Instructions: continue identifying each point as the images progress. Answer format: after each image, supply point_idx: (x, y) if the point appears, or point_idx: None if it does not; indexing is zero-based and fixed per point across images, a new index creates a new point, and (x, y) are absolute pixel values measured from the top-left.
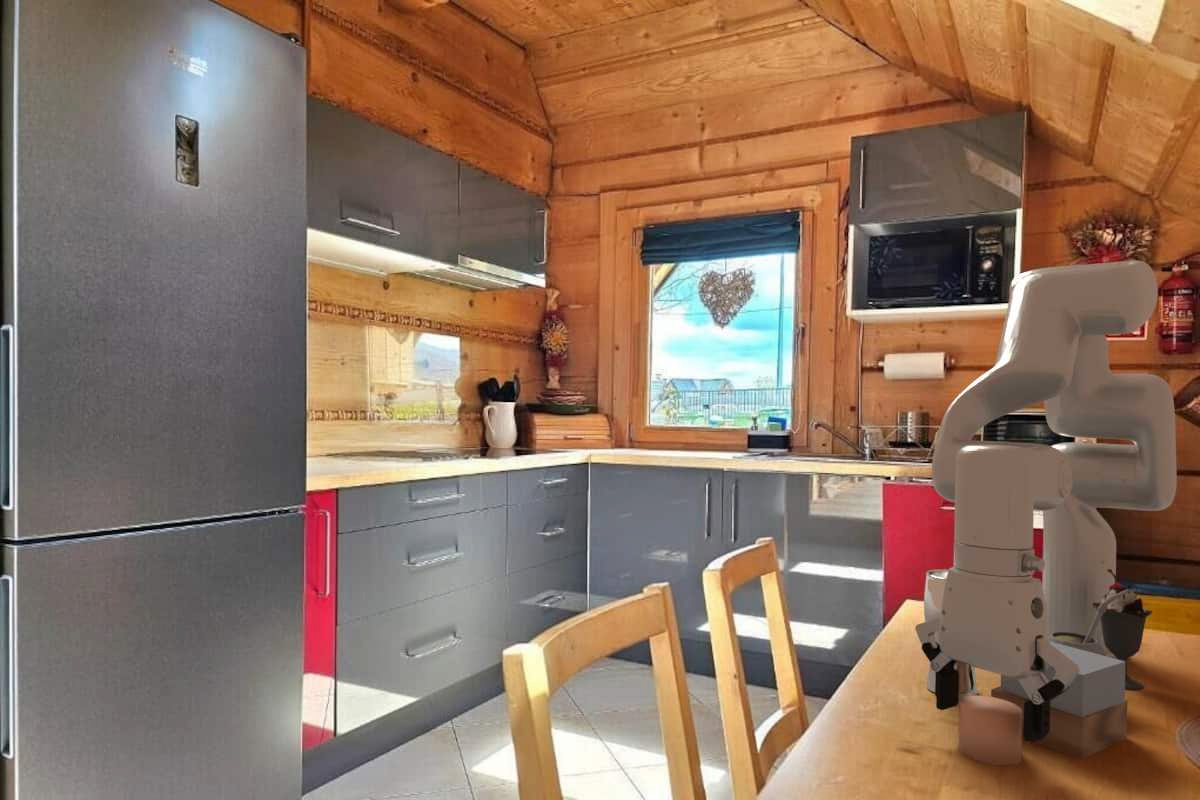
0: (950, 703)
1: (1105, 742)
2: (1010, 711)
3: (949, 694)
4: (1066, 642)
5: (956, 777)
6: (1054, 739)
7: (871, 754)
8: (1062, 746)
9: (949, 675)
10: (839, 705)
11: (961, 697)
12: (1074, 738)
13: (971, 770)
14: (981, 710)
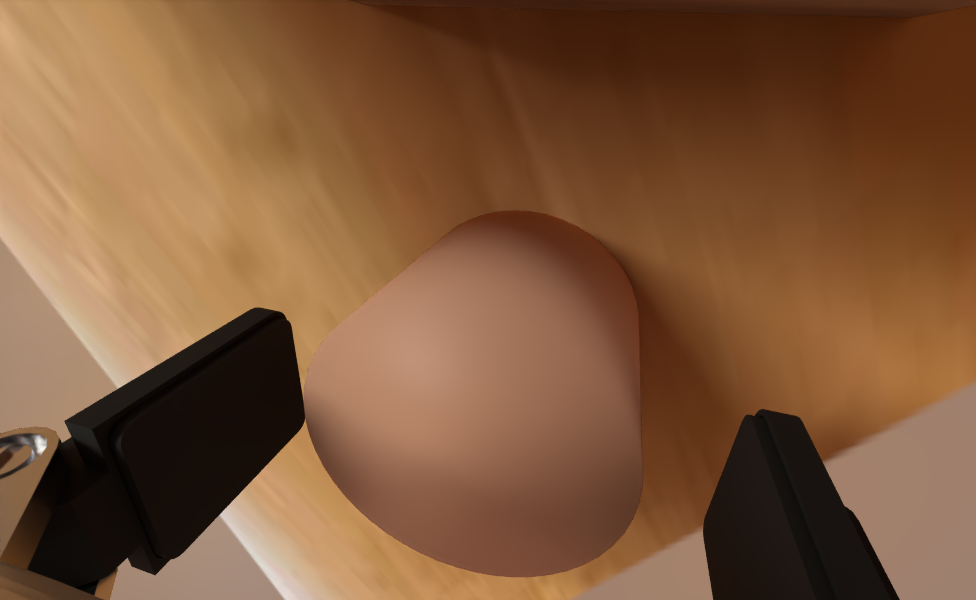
0: (285, 385)
1: None
2: (578, 473)
3: (252, 424)
4: None
5: None
6: (734, 6)
7: (346, 533)
8: (784, 11)
9: (157, 512)
10: (72, 317)
11: None
12: (910, 2)
13: None
14: (469, 542)
